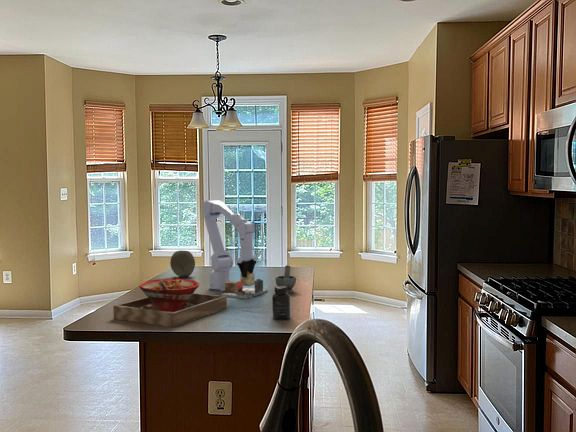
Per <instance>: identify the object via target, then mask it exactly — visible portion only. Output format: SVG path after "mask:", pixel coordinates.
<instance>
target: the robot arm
mask: <svg viewBox="0 0 576 432" xmlns="http://www.w3.org/2000/svg"><path fill="white" fill-rule="evenodd" d="M201 211H202V215H203V218H204V223H205V226H206V230H207V234H208V238H209V241H210V245H211V247H212V252H213V253H212V255H210V265H211V268H212V270H211V271H210V273H209V287H208V289H209V290H219V291H221V290H225V283H226V282H227V281H230V280H231V279H230V276H231V275H230V271H231V268H232V267H233V266H234V261H233V258H232V257H231V256H230V253H229V252H228V251H226V250H225V247H224V243H223V240H222V237H221V233H220V229H219V226H218V223H217V219H218V218H219V217H220V216H221V214H222V215H223V216H224V217H226V218H227V219H228V220H229V224H230V225H232V226H234V228H236V230H237V232H238V235H239V236H238V237H239V239H240V257H238V258H236V265H237V266H238V268H239V271H240V274H241V275H242V277H247V272H249V273H254V269H255V266H256V265H257V260H258V259H257V255H256V254H254V245H253V244H254V243H253V242H254V241H253V240H254V239H253V237H254V236H253V235H254V233H255V232H256V226H255V224H254V222H253V221H248V220H247V219H246V218H244V217H242V215H241V214H240V213H234V212H233V211H232V210H231V209H230V208H229V207H228V206H227V205H226V202H224V201H223V200H222V199H217V200H215V199H213V200H208V199H207V200H204V201H203V203H202V205H201Z"/></svg>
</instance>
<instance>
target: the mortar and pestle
mask: <svg viewBox="0 0 576 432" xmlns="http://www.w3.org/2000/svg"><path fill="white" fill-rule="evenodd" d="M291 267H292V266H290V265H285V266H284V274H283V275H279V276H276V277H275V284H276V286H286V287H287V290H288V292H287V293H288V294H289V293H293V288H294V287H295V285H296V283H297V277H296V276H294V275H291Z"/></svg>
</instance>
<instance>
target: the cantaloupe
mask: <svg viewBox="0 0 576 432" xmlns="http://www.w3.org/2000/svg"><path fill="white" fill-rule="evenodd" d="M194 257H195V256H194V255H193V254H192V253H191V251H189V250H176V251H175V252H174V253H173V254H172V255H171V257H170V263H169V264H170V268H171V270H172V272H173V273H174V274H175V275H176V276H178V277H180V278H188V277H190V276H191V275H192V274H193V272H194V270H195V267H196V260H195V258H194Z"/></svg>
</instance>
